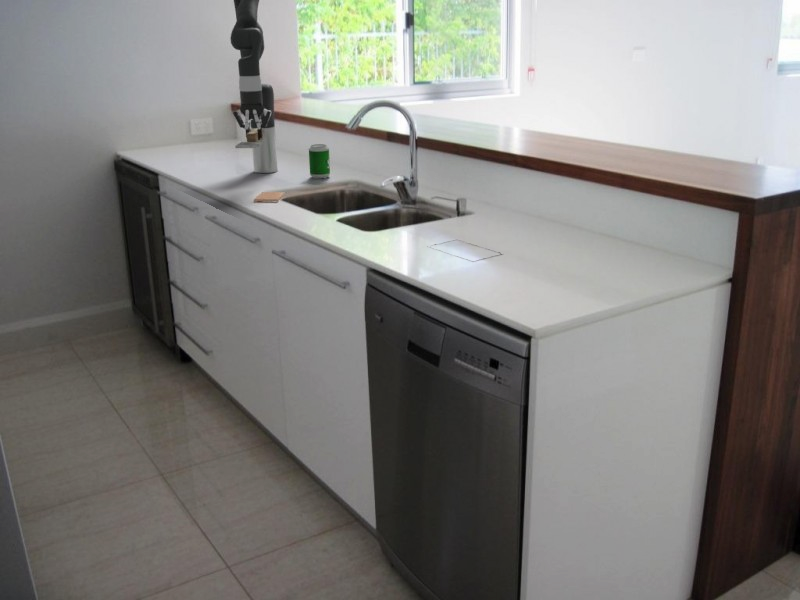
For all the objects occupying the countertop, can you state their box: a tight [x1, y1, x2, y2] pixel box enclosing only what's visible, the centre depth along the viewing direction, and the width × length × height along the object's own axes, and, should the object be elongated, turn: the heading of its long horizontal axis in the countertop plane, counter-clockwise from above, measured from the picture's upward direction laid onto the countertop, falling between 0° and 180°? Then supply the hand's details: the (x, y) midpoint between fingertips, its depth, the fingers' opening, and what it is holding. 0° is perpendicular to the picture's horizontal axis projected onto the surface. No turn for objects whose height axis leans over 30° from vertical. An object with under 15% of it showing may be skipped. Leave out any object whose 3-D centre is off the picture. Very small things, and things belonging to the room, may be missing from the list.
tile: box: [253, 191, 286, 203], centre depth 265 cm, size 2×8×11 cm
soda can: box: [308, 143, 331, 179], centre depth 297 cm, size 8×8×12 cm
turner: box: [235, 128, 265, 149], centre depth 276 cm, size 22×7×4 cm, turn 176°
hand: (254, 139), depth 278 cm, fingers closed on turner, 3 cm apart
